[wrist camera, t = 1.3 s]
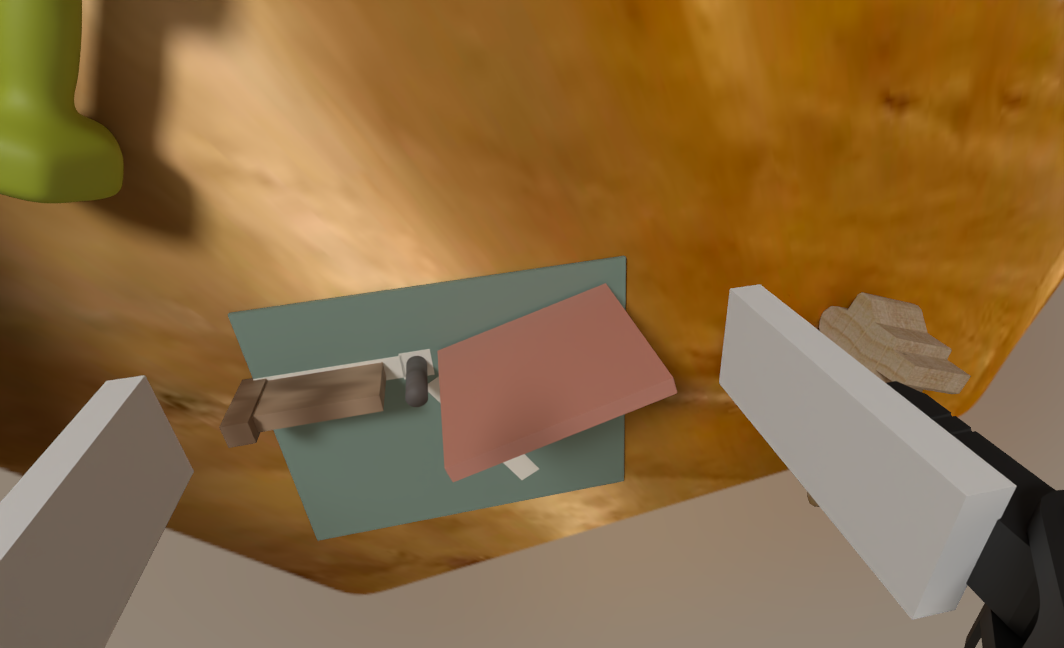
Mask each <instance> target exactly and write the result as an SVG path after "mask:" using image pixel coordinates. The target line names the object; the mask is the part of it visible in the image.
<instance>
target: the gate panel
mask: <svg viewBox="0 0 1064 648" xmlns="http://www.w3.org/2000/svg"><path fill="white" fill-rule="evenodd" d="M437 352H438V369H439V385H440V402H441V418H442V435H443V451H444V468H445V470H446V472H447V474H448V475H449V477H450V478H451V480H452V482H455V481H458V480H460V479H463V478H465V477H468V476H470V475H473V474H475V473H478V472H480V471H483V470H486V469H488V468H491V467H493V466H496V465H498V464H501V463H503V462H506V461H508V460H511V459H513V458H516V457H518V456H521V455H523V454H526V453H528V452H531V451H533V450H536V449H538V448H541V447H543V446H546V445H548V444H551V443H553V442H556V441H558V440H561V439H563V438H566V437H568V436H571V435H573V434H576V433H578V432H581V431H583V430H586V429H589V428H591V427H594V426H596V425H599V424H601V423H604V422H606V421H609V420H611V419H614V418H616V417H619V416H621V415H624V414H626V413H629V412H631V411H634V410H636V409H639V408H641V407H644V406H646V405H649V404H651V403H654V402H656V401H659V400H661V399H664V398H666V397H669V396H671V395H674V394H676V393H677V390H676V386H675V383H674V379H673V377H672V375H671V374H670V372H669V371H668V370H667V368H666V367H665V365H664V364H663V363H662V361H661V360H660V358H659V357H658V356H657V354H656V353H655V351H654V350H653V349H652V347H651V346H650V344H649V343H648V342H647V340H646V339H645V337H644V336H643V335H642V333H641V332H640V330H639V329H638V328H637V326H636V325H635V323H634V322H633V321H632V319H631V318H630V316H629V315H628V314H627V312H626V311H625V309H624V308H623V307H622V305H621V304H620V302H619V301H618V300H617V298H616V297H615V295H614V294H613V293H612V291H611V290H610V288H609V287H608V286H607V284H606V283H605V284H602V285H600V286H597V287H595V288H592V289H590V290H587V291H585V292H583V293H580V294H578V295H575V296H573V297H570V298H568V299H565V300H563V301H560V302H558V303H555V304H553V305H550V306H548V307H545V308H543V309H540V310H538V311H535V312H533V313H530V314H528V315H525V316H523V317H520V318H518V319H515V320H513V321H510V322H508V323H505V324H503V325H500V326H498V327H495V328H493V329H490V330H488V331H485V332H483V333H480V334H478V335H475V336H473V337H470V338H468V339H465V340H463V341H460V342H458V343H456V344H453V345H451V346H448V347H446V348H443V349H441V350H438V351H437Z"/></svg>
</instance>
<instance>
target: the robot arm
mask: <svg viewBox="0 0 1064 648" xmlns="http://www.w3.org/2000/svg"><path fill="white" fill-rule="evenodd" d="M719 384H720V385H721V386H722V387H723V389H724V390H725V391H726V392H727V393H728V395H729V396H730V397H731V398H732V400H733V401H734V402H735V403H736V405H737V406H738V407H739V408H740V409H741V411H742V412H743V413H744V414H745V416H746V417H747V418H748V419H749V420H750V422H751V423H752V424H753V425H754V427H755V428H756V429H757V430H758V431H759V433H760V434H761V435H762V436H763V438H764V439H765V440H766V441H767V443H768V444H769V445H770V446H771V447H772V449H773V450H774V451H775V452H776V454H777V455H778V456H779V457H780V458H781V460H782V461H783V462H784V463H785V465H786V466H787V467H788V468H789V470H790V471H791V472H792V473H793V474H794V476H795V477H796V478H797V479H798V481H799V482H800V483H801V484H802V485H803V486H804V488H805V489H806V490H807V492H808V493H809V494H810V495H811V496H812V498H813V499H814V500H815V501H816V503H817V504H818V505H819V506H820V508H821V509H822V510H823V511H824V512H825V514H826V515H827V516H828V517H829V519H830V520H831V521H832V522H833V523H834V525H835V526H836V527H837V528H838V530H839V531H840V532H841V533H842V535H843V536H844V537H845V538H846V539H847V541H848V542H849V543H850V544H851V545H852V547H853V548H854V549H855V550H856V552H857V553H858V554H859V555H860V557H861V558H862V559H863V560H864V561H865V563H866V564H867V565H868V566H869V568H870V569H871V570H872V571H873V572H874V574H875V575H876V576H877V577H878V579H880V581H881V582H882V584H883V585H884V586H885V587H886V588H887V590H888V591H889V592H890V593H891V595H892V596H893V597H894V598H895V600H896V601H897V602H898V603H899V604H900V606H901V607H902V608H903V609H904V611H905V612H906V613H907V614H908V615H909V617H910V618H911V619H912V620H913V619H918V618H922V617H926V616H930V615H935V614H939V613H944V612H948V611H952V610H955V609H956V607H957V605H958V603H959V601H960V599H961V597H962V595H963V593H964V591H965V589H966V587H967V585H968V586H969V587H970V588H971V589H972V590H973V591H974V592H975V593H976V594H977V595H978V596H979V597H980V598H981V599H982V600H983V602H985V604H984V606H983V608H982V609H981V612H980V613H979V615H978V617H977V619H976V621H975V623H974V624H973V626H972V628H971V630H970V632H969V634H968V636H967V638H966V643H965V647H964V648H975V647H976V645H977V643H978V641H979V640H980V638H982V646H983V648H1064V490H1058V491H1056V490H1055V489H1053V488H1052V487H1050V486H1049V485H1047V484H1046V483H1045V482H1043V481H1042V480H1041V479H1039V478H1038V477H1037V476H1035V475H1034V474H1033V473H1031V472H1030V471H1028V470H1027V469H1026V468H1024V467H1023V466H1022V465H1021V464H1019V463H1018V462H1017V461H1015V460H1014V459H1012V458H1011V457H1010V456H1009V455H1007V454H1006V453H1004V452H1003V451H1002V450H1000V449H999V448H998V447H996V446H995V445H994V444H992V443H991V442H990V441H988V440H987V439H986V438H984V437H983V436H982V435H980V434H979V433H977V432H976V431H975V432H972V431H971V427H970V426H968V425H967V424H966V423H964V422H963V421H961V420H960V419H959V418H957V417H956V416H953V417H952V416H951V412H949V411H948V410H947V409H945V408H944V407H943V406H941V405H940V404H939V403H937V402H936V401H935V400H933V399H932V398H931V397H929V396H928V395H926V394H924V393H922V392H920V391H918V390H915V389H913V388H911V387H909V386H907V385H904V384H902V383H900V382H898V381H893V382H887V383H885V382H884V381H882V380H881V379H880V378H879V377H877V376H876V375H875V374H874V373H872V372H871V371H870V370H868V369H867V368H866V367H865V366H863V365H862V364H861V363H859V362H858V361H857V360H856V359H854V358H853V357H852V356H851V355H849V354H848V353H847V352H845V351H844V350H843V349H842V348H840V347H839V346H838V345H837V344H835V343H834V342H833V341H831V340H830V339H829V338H828V337H826V336H825V335H824V334H823V333H821V332H820V331H819V330H817V329H816V328H815V327H814V326H812V325H811V324H810V323H809V322H807V321H806V320H805V319H803V318H802V317H801V316H800V315H798V314H797V313H796V312H795V311H793V310H792V309H791V308H789V307H788V306H787V305H786V304H784V303H783V302H782V301H781V300H779V299H778V298H777V297H775V296H774V295H773V294H772V293H770V292H769V291H768V290H767V289H765V288H764V287H763V286H761V285H760V284H759V285H753V286H746V287H739V288H732V289H730V293H729V301H728V310H727V319H726V327H725V336H724V345H723V353H722V362H721V370H720V379H719ZM193 472H194V471H193V469H192V467H191V465H190V463H189V461H188V459H187V457H186V455H185V453H184V451H183V449H182V447H181V445H180V443H179V441H178V439H177V437H176V435H175V433H174V431H173V429H172V427H171V425H170V423H169V421H168V420H167V418H166V416H165V414H164V412H163V410H162V408H161V406H160V404H159V402H158V400H157V398H156V396H155V394H154V392H153V390H152V388H151V386H150V384H149V382H148V380H147V378H146V376H145V375H144V376H137V377H130V378H124V379H117V380H110V381H106V382H105V383H104V384H103V385H102V387H101V388H100V389H99V390H98V391H97V392H96V393H95V395H94V396H93V397H92V398H91V399H90V400H89V401H88V403H87V404H86V405H85V406H84V407H83V408H82V409H81V411H80V412H79V413H78V414H77V415H76V416H75V417H74V419H73V420H72V421H71V422H70V423H69V424H68V425H67V427H66V428H65V429H64V430H63V431H62V432H61V433H60V435H59V436H58V437H57V438H56V439H55V440H54V441H53V443H52V444H51V445H50V446H49V447H48V448H47V449H46V450H45V452H44V453H43V454H42V455H41V456H40V457H39V458H38V460H37V461H36V462H35V463H34V464H33V465H32V466H31V468H30V469H29V470H28V471H27V472H26V473H25V474H24V476H23V477H22V478H21V479H20V480H19V481H18V483H17V484H16V485H15V486H14V487H13V488H12V489H11V491H10V492H9V493H8V494H7V495H6V496H5V497H4V498H3V500H2V501H1V502H0V648H105V646H106V644H107V642H108V640H109V638H110V636H111V634H112V632H113V630H114V628H115V626H116V624H117V622H118V620H119V618H120V616H121V614H122V612H123V610H124V608H125V606H126V604H127V602H128V600H129V598H130V596H131V594H132V592H133V590H134V588H135V586H136V584H137V582H138V581H139V579H140V576H141V575H142V573H143V570H144V569H145V566H146V565H147V563H148V561H149V559H150V557H151V555H152V553H153V551H154V549H155V547H156V545H157V543H158V541H159V539H160V537H161V535H162V533H163V531H164V529H165V527H166V525H167V523H168V521H169V519H170V517H171V515H172V513H173V511H174V509H175V508H176V506H177V504H178V502H179V500H180V498H181V496H182V494H183V492H184V490H185V488H186V486H187V484H188V482H189V480H190V478H191V476H192V474H193Z"/></svg>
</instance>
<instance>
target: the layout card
mask: <svg viewBox="0 0 1064 648" xmlns="http://www.w3.org/2000/svg"><path fill="white" fill-rule="evenodd" d="M605 283H606V284H607V286H608V287H609V288H610V290H611V291H612V293H613V294H614V295H615V297H616V298H617V300H618V301H619V302H620V304H621V305H622V307H623V308H624V309H625V304H626V257H625V256H620V257H613V258H606V259H599V260H592V261H585V262H578V263H571V264H564V265H557V266H550V267H544V268H537V269H530V270H523V271H516V272H509V273H502V274H495V275H488V276H481V277H474V278H467V279H460V280H453V281H447V282H440V283H433V284H426V285H419V286H412V287H405V288H398V289H391V290H384V291H377V292H370V293H363V294H357V295H350V296H343V297H336V298H329V299H322V300H315V301H308V302H301V303H294V304H287V305H280V306H273V307H267V308H260V309H253V310H246V311H239V312H232V313H229V314H228V317H229V319H230V322H231V324H232V327H233V329H234V332H235V334H236V337H237V339H238V342H239V344H240V347H241V349H242V352H243V355H244V357H245V360H246V362H247V365H248V367H249V370H250V372H251V375H252V377H253V380H260V379H266V380H267V381H268V380H274V379H280V378H287V377H293V376H299V375H305V374H312V373H318V372H324V371H331V370H337V369H343V368H349V367H356V366H362V365H368V364H374V363H381V362H383V366H384V370H385V374H386V387H385V398H384V410H383V411H381V412H375V413H369V414H363V415H357V416H351V417H346V418H340V419H334V420H328V421H322V422H316V423H310V424H304V425H298V426H293V427H287V428H281V429H275V430H274V432H275V435H276V437H277V440H278V442H279V445H280V447H281V450H282V453H283V455H284V458H285V460H286V463H287V465H288V468H289V470H290V473H291V475H292V478H293V480H294V483H295V485H296V488H297V490H298V493H299V495H300V498H301V500H302V503H303V505H304V508H305V510H306V513H307V515H308V518H309V520H310V523H311V525H312V528H313V530H314V533H315V535H316V538H317V540H323V539H329V538H334V537H339V536H344V535H349V534H354V533H359V532H364V531H370V530H375V529H380V528H385V527H390V526H395V525H400V524H406V523H411V522H416V521H421V520H426V519H431V518H436V517H441V516H447V515H452V514H457V513H462V512H467V511H472V510H477V509H482V508H488V507H493V506H498V505H503V504H508V503H513V502H518V501H524V500H529V499H534V498H539V497H544V496H549V495H554V494H559V493H565V492H570V491H575V490H580V489H585V488H590V487H595V486H601V485H606V484H611V483H616V482H621V481H624V415H621V416H619V417H616V418H614V419H611V420H609V421H606V422H604V423H601V424H599V425H596V426H594V427H591V428H589V429H586V430H583V431H581V432H578V433H576V434H573V435H571V436H568V437H566V438H563V439H561V440H558V441H556V442H553V443H551V444H548V445H546V446H543V447H541V448H538V449H536V450H533V451H531V452H528V453H526V454H523V455H521V456H518V457H516V458H513V459H511V460H508V461H506V462H503V463H501V464H498V465H496V466H493V467H491V468H488V469H486V470H483V471H480V472H478V473H475V474H473V475H470V476H468V477H465V478H463V479H460V480H458V481H455V482H452V480H451V478H450V477H449V475H448V474H447V472H446V470H445V468H444V451H443V435H442V418H441V402H440V385H439V369H438V352H437V351H438V350H441V349H443V348H446V347H448V346H451V345H453V344H456V343H458V342H460V341H463V340H465V339H468V338H470V337H473V336H475V335H478V334H480V333H483V332H485V331H488V330H490V329H493V328H495V327H498V326H500V325H503V324H505V323H508V322H510V321H513V320H515V319H518V318H520V317H523V316H525V315H528V314H530V313H533V312H535V311H538V310H540V309H543V308H545V307H548V306H550V305H553V304H555V303H558V302H560V301H563V300H565V299H568V298H570V297H573V296H575V295H578V294H580V293H583V292H585V291H587V290H590V289H592V288H595V287H597V286H600V285H602V284H605ZM413 356H421V357H423V358H425V360H426V361H427V374H428V401H427V403H426V404H425V405H423V406H421V407H412V406H410V405H408V404H407V402H406V400H405V392H406V363H407V361H408V359H409V358H411V357H413Z"/></svg>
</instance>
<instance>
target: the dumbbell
mask: <svg viewBox="0 0 1064 648" xmlns="http://www.w3.org/2000/svg"><path fill="white" fill-rule="evenodd" d="M81 34H82V0H0V194H2V195H6V196H10V197H13V198H17V199H22V200H26V201H31V202H39V203H68V202H78V201H90V200H98V199H104V198H108V197H111V196H113V195H115V194H117V193H118V192H119V190H120V189H121V187H122V182H123V171H124V163H123V156H122V153H121V150H120V147H119V144H118V142H117V141H116V139H115V138H114V136H113V135H112V133H111V132H110V131H109V130H108V129H107V128H106V127H104V126H103V125H102V124H100V123H98V122H96V121H94V120H92V119H90V118H87V117H85V116H83V115H81V114H79V113H78V112H77V110H76V108H75V105H74V94H75V89H76V84H77V79H78V72H79V62H80V51H81Z"/></svg>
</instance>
